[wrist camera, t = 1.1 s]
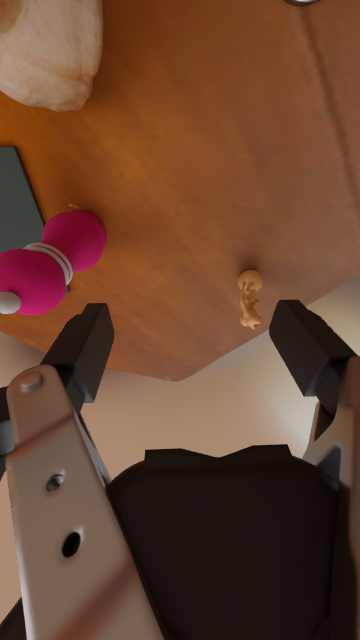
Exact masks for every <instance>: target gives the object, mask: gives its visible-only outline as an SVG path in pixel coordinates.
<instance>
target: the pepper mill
mask: <svg viewBox="0 0 360 640" xmlns="http://www.w3.org/2000/svg"><path fill="white" fill-rule="evenodd" d="M105 244H106V231H105V229H104V226H103V225H102V223H101V222H100V221H99V219H97V218H96V217H95V216H94V215H92V214H91V213H88V212H86V211H73V212H71V213H70V212H66V213H60V214H57V215H55V216H54V217H53V218H51V219H50V220H49V221H48V222H47V223H46V225H45V227H44V230H43V233H42V242H41V243H32V244H29V245H27V246H25V247H24V248H22V249H11V250H7V251H5V252H3V253H1V254H0V313H4V314H11V313H14V312H17V313H21V314H26V315H37V314H43V313H46V312H48V311H50V310H52V309H54V308H55V307H56V306H57V305H58V304H59V303H60V302H61V301H62V300H63V298H64V296H65V293H66V286H67V285H68V284H69V282H70V281H71V279H72V275H73V272H74V271H80V270H85V269H87V268H90V267H91V266H93V265H94V264H95V263H96V262H97V261H98V260H99V259H100V257H101V255H102V252H103V247H104V246H105Z"/></svg>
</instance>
